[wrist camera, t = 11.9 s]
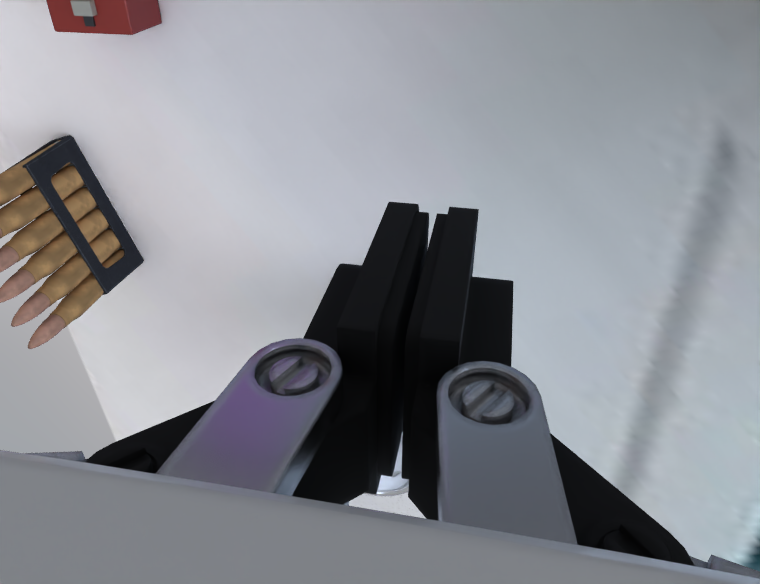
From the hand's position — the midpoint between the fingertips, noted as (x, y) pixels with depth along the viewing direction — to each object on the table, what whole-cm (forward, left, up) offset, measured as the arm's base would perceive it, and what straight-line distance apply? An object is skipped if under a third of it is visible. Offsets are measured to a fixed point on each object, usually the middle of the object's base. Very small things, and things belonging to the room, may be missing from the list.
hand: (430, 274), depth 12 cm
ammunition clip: (+28, +14, -27) cm, 42 cm away
